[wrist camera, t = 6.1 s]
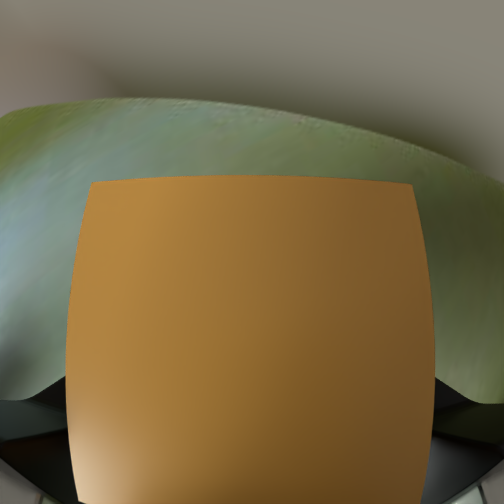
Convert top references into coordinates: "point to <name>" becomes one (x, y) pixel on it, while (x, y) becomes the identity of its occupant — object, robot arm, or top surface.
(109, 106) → the top surface
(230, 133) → the top surface
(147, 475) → the handle
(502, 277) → the top surface
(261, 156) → the top surface
